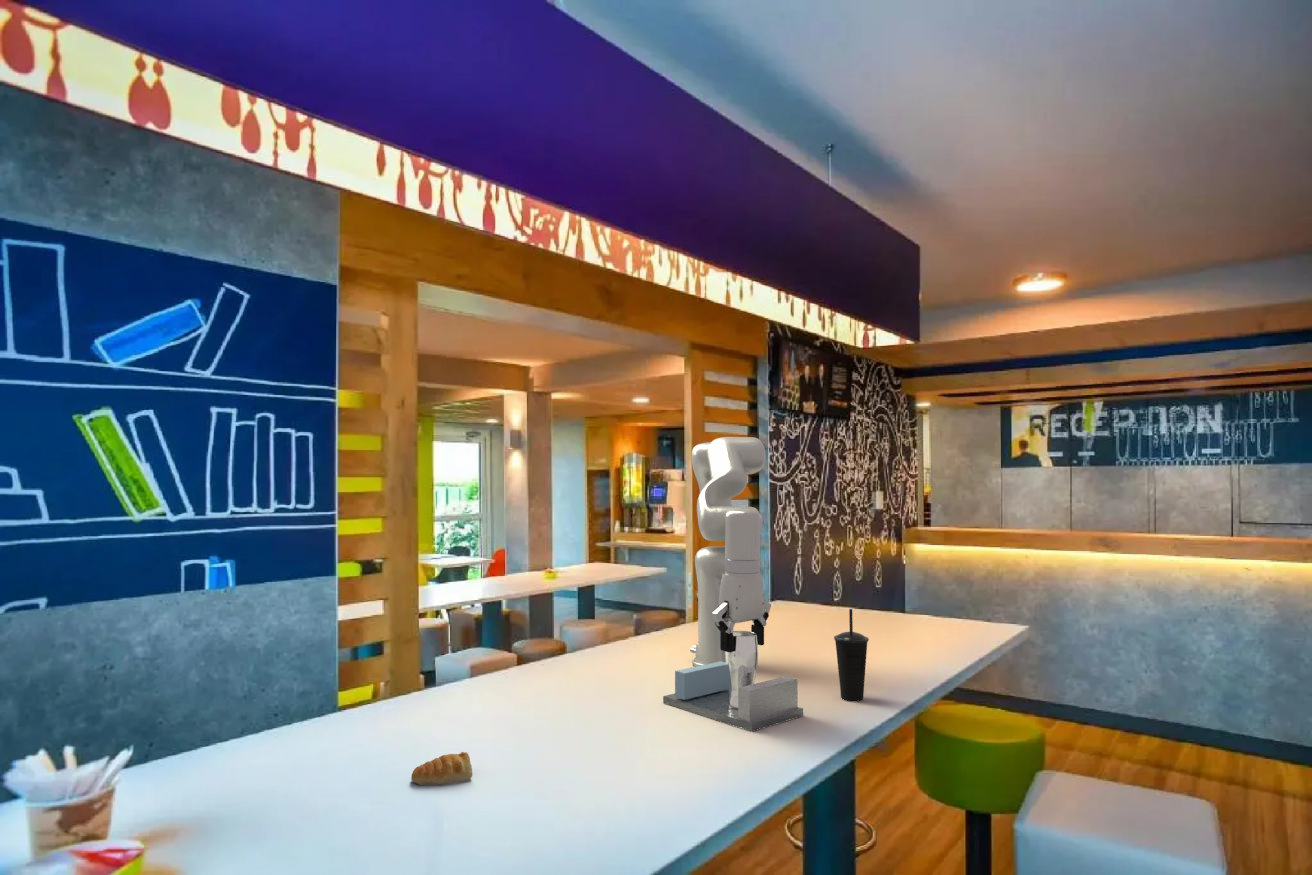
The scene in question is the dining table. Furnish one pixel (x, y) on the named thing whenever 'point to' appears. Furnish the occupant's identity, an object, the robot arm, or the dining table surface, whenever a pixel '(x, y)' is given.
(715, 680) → the bar
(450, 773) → the pastry
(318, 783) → the dining table surface
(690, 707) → the vise base
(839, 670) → the drinking cup
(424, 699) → the dining table surface
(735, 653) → the beer glass
